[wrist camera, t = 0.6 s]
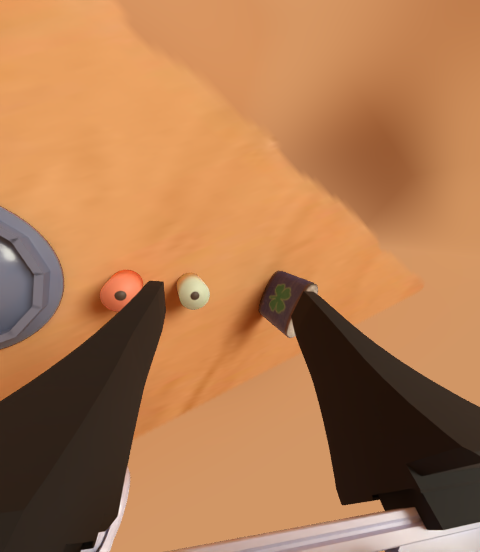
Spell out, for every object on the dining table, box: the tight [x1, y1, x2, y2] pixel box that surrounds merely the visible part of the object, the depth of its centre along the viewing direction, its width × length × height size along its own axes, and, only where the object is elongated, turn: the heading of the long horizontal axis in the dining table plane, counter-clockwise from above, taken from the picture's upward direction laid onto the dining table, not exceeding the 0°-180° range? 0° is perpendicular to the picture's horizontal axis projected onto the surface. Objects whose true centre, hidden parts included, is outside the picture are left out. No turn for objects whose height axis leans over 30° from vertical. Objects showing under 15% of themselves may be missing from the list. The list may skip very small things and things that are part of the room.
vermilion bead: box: [100, 270, 143, 312], centre depth 24 cm, size 4×4×5 cm
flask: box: [259, 271, 318, 338], centre depth 32 cm, size 9×3×11 cm, turn 153°
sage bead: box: [176, 273, 210, 310], centre depth 28 cm, size 4×4×5 cm
